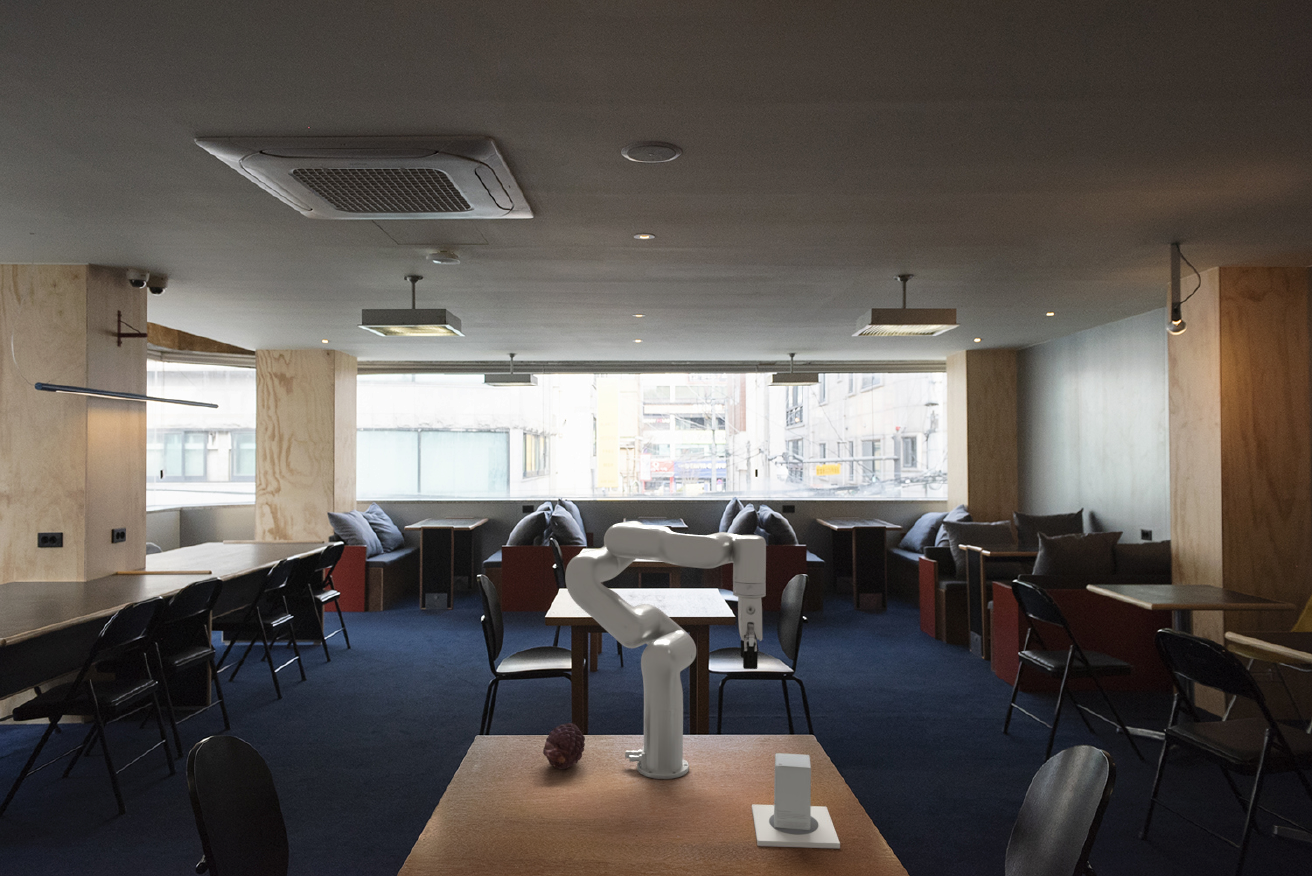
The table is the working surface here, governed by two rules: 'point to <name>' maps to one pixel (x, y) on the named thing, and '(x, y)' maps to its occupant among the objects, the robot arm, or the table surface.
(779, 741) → the table surface
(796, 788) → the supplement box
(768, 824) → the mat
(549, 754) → the pine cone
